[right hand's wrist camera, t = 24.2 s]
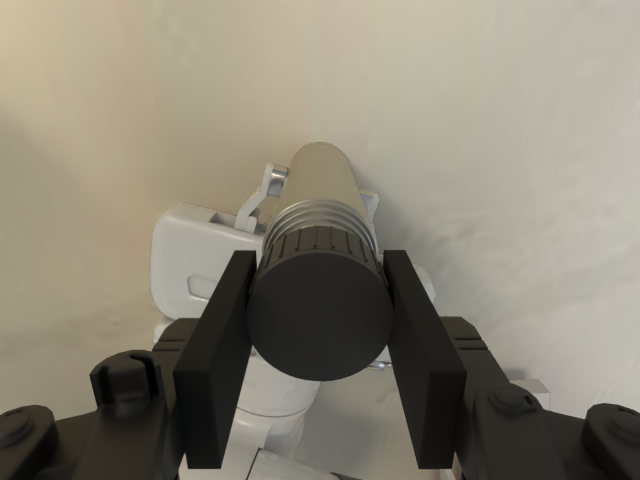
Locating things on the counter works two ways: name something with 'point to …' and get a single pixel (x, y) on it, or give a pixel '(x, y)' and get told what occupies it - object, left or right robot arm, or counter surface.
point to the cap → (319, 305)
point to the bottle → (320, 197)
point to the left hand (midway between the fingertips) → (322, 179)
